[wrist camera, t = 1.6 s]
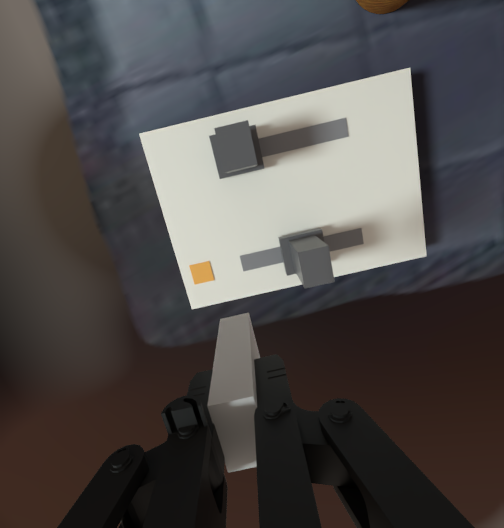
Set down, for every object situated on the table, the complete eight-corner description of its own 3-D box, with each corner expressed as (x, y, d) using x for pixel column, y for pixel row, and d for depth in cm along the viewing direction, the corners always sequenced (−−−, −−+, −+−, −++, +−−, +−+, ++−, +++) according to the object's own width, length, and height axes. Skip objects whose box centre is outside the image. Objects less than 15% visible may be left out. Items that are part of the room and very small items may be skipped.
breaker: (254, 126, 28) (258, 112, 22) (263, 168, 29) (269, 166, 23) (210, 137, 28) (201, 126, 22) (220, 179, 29) (214, 179, 23)
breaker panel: (393, 78, 30) (410, 67, 27) (411, 249, 34) (427, 256, 32) (148, 138, 31) (138, 133, 28) (195, 298, 35) (191, 309, 32)
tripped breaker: (319, 227, 30) (338, 239, 24) (325, 263, 31) (345, 283, 25) (278, 237, 30) (286, 251, 24) (285, 272, 31) (295, 294, 25)
